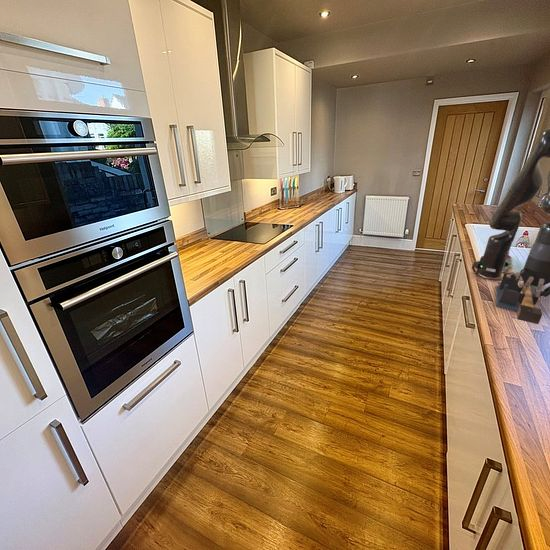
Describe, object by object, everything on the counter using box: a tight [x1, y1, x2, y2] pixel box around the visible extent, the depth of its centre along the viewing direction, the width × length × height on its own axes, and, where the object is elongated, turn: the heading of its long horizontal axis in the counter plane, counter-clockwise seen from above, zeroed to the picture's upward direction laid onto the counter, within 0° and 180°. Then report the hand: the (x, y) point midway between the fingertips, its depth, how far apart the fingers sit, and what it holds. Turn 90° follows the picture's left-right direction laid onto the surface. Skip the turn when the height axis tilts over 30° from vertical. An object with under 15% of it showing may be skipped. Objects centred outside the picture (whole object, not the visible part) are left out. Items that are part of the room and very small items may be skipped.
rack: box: [495, 271, 536, 312], centre depth 122 cm, size 20×11×14 cm, turn 145°
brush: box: [516, 283, 543, 325], centre depth 96 cm, size 22×5×3 cm, turn 145°
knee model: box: [503, 252, 515, 272], centre depth 157 cm, size 9×8×25 cm
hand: (525, 303), depth 97 cm, fingers closed on brush, 2 cm apart
